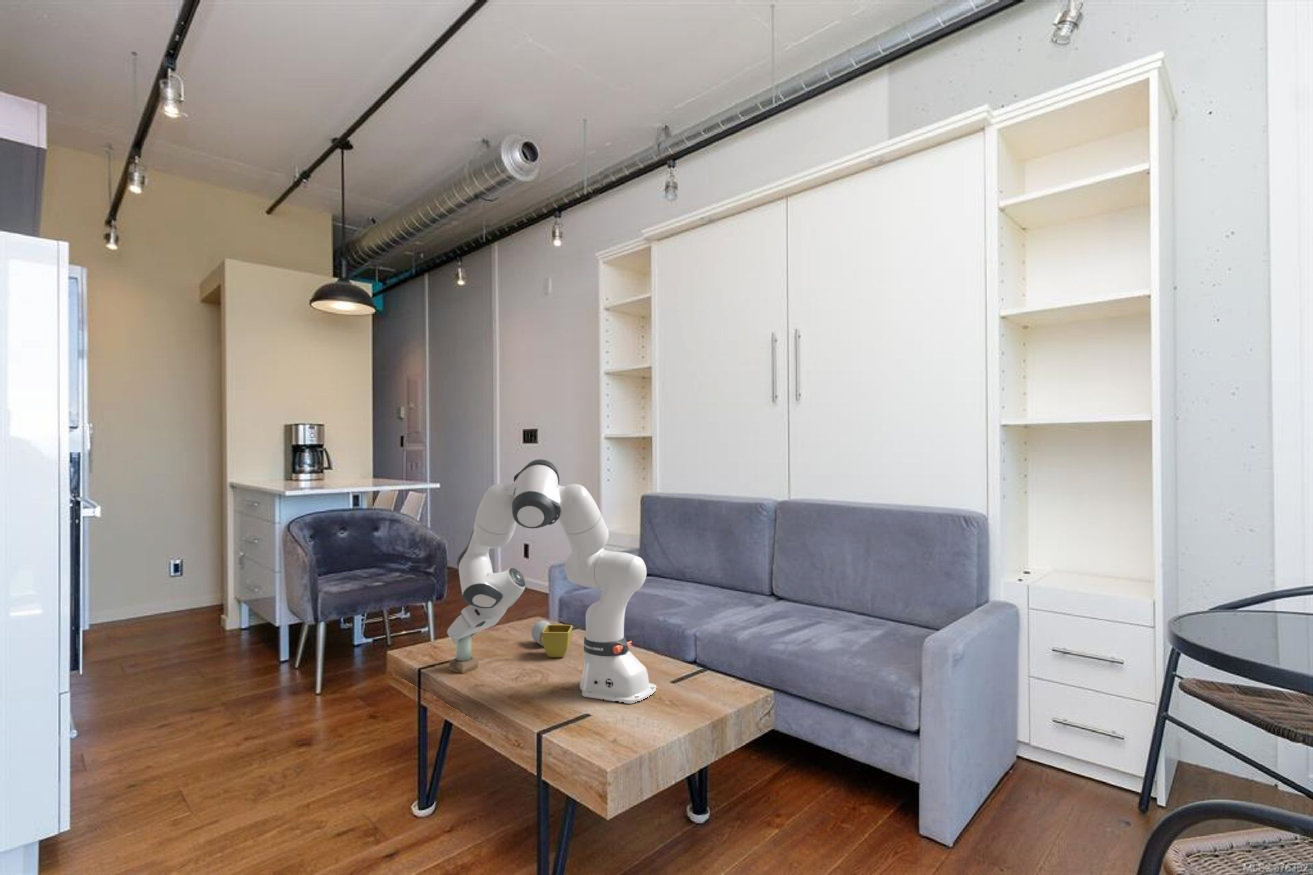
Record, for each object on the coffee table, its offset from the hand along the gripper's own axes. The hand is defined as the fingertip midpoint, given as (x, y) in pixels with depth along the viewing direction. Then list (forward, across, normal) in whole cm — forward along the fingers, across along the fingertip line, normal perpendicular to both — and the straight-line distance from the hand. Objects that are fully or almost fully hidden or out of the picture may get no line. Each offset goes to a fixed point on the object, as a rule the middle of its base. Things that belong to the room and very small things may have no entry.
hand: (462, 638), depth 200 cm
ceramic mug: (0, -33, +14) cm, 36 cm away
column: (+4, 0, +5) cm, 6 cm away
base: (+6, 0, +7) cm, 9 cm away
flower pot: (-7, -24, +21) cm, 32 cm away
